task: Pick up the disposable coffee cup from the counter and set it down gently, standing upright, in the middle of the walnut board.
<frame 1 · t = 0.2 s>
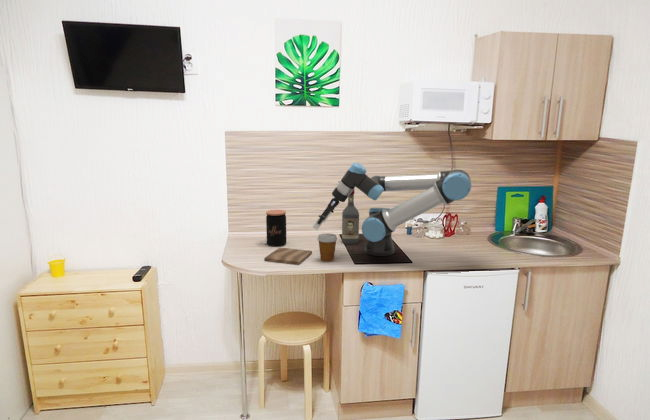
hand: (318, 224, 218), 15 cm above the kitchen counter, tool tilted 35°, fingers open, 13 cm apart
walnut board: (288, 257, 217), on the kitchen counter
disposable coffee cup: (327, 259, 214), on the kitchen counter
liquor: (350, 242, 244), on the kitchen counter
coffee jar: (276, 244, 239), on the kitchen counter
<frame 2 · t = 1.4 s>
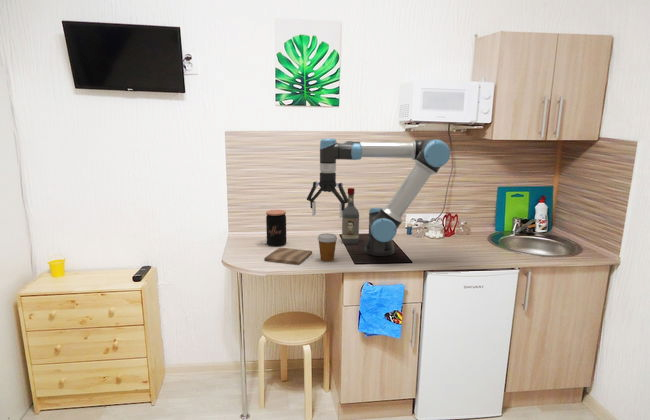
hand: (327, 216, 209), 22 cm above the kitchen counter, tool pointing down, fingers open, 13 cm apart
nothing on the kitchen counter moved.
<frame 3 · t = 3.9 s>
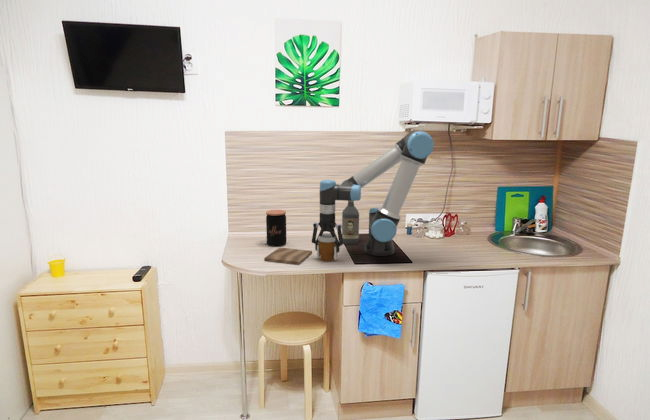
hand: (327, 257, 214), 1 cm above the kitchen counter, tool pointing down, fingers closed on disposable coffee cup, 8 cm apart
disposable coffee cup: (327, 259, 214), on the kitchen counter, touching gripper
everything else where it was.
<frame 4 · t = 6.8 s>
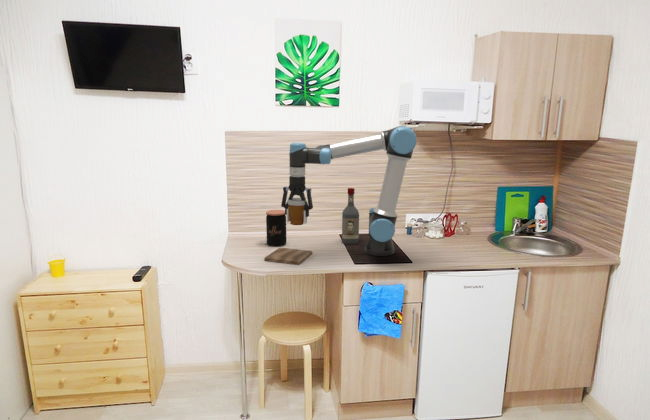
hand: (296, 222, 212), 18 cm above the kitchen counter, tool pointing down, fingers closed on disposable coffee cup, 8 cm apart
disposable coffee cup: (296, 224, 212), point 17 cm above the kitchen counter, touching gripper
everything else where it was.
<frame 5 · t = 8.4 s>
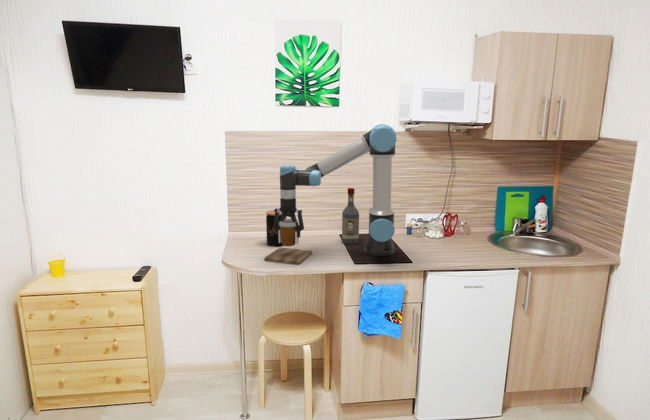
hand: (288, 243, 215), 7 cm above the kitchen counter, tool pointing down, fingers closed on disposable coffee cup, 8 cm apart
disposable coffee cup: (288, 244, 215), point 6 cm above the kitchen counter, touching gripper
everything else where it was.
when the fingers open (4 cm above the kitchen counter, at t = 9.6 s): disposable coffee cup drops 1 cm, point 2 cm above the kitchen counter.
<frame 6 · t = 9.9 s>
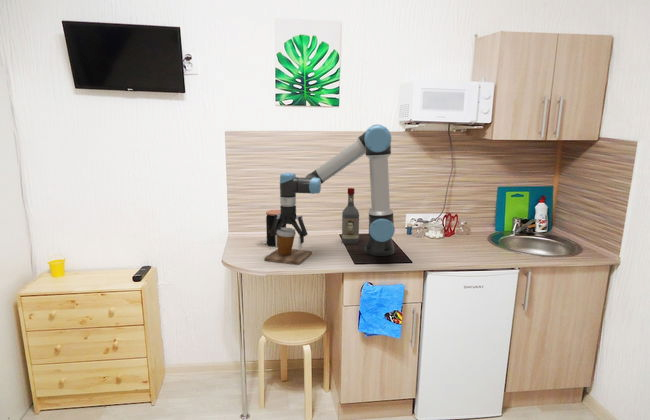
hand: (288, 248, 216), 5 cm above the kitchen counter, tool pointing down, fingers open, 11 cm apart
disposable coffee cup: (284, 253, 217), point 2 cm above the kitchen counter, touching gripper
everything else where it was.
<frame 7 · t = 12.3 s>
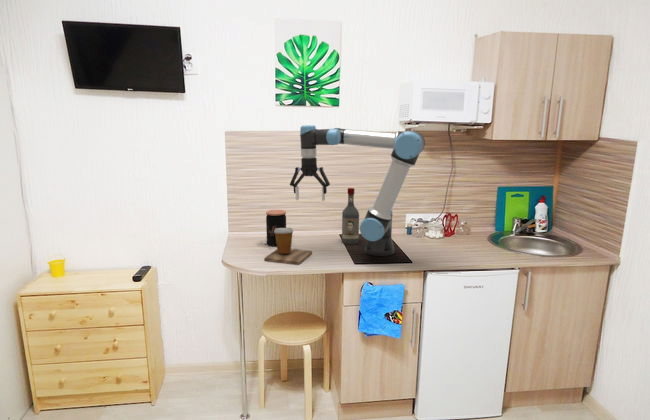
hand: (310, 200, 219), 27 cm above the kitchen counter, tool pointing down, fingers open, 13 cm apart
disposable coffee cup: (284, 253, 217), point 2 cm above the kitchen counter, touching walnut board
everything else where it was.
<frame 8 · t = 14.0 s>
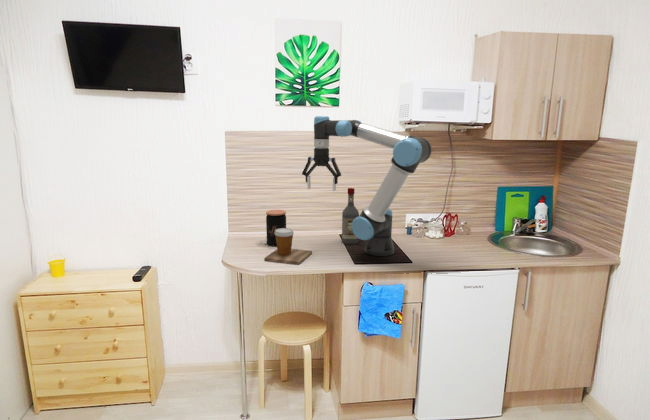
hand: (321, 189, 223), 32 cm above the kitchen counter, tool pointing down, fingers open, 13 cm apart
at the end: disposable coffee cup inside the target area on the walnut board (2.5 cm from its centre), point 1.3 cm above the walnut board's base; disposable coffee cup tilted 1°; the gripper is holding nothing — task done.
